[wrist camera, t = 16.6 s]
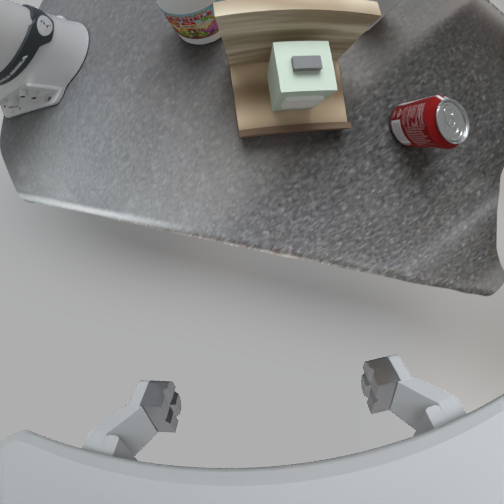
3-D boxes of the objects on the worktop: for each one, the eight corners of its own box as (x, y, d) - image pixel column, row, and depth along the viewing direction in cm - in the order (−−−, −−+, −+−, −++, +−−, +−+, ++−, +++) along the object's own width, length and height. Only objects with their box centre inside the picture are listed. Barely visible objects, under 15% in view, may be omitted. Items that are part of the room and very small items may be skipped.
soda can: (394, 150, 36) (440, 153, 25) (382, 106, 34) (425, 95, 23) (428, 143, 36) (477, 145, 24) (417, 101, 34) (464, 92, 22)
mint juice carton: (272, 114, 33) (282, 94, 20) (267, 75, 31) (273, 38, 19) (311, 111, 32) (341, 92, 20) (305, 73, 31) (330, 37, 18)
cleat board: (341, 130, 36) (403, 117, 19) (240, 138, 37) (229, 126, 20) (329, 56, 32) (377, 1, 15) (230, 62, 33) (213, 2, 16)
